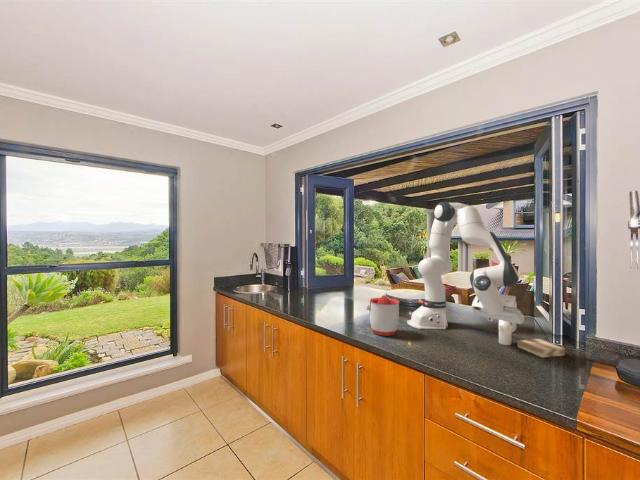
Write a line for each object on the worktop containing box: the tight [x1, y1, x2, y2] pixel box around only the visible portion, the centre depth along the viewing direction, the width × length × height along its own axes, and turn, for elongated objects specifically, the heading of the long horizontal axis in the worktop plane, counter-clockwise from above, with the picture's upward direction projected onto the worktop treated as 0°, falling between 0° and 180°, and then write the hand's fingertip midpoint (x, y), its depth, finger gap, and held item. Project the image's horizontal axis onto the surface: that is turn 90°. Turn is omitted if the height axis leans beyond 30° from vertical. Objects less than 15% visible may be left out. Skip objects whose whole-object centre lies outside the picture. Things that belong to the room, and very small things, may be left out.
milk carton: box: [497, 293, 518, 333], centre depth 159 cm, size 7×7×19 cm
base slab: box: [517, 338, 566, 359], centre depth 130 cm, size 12×12×3 cm
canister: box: [498, 320, 513, 346], centre depth 139 cm, size 6×6×13 cm
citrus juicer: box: [365, 294, 400, 337], centre depth 153 cm, size 16×17×20 cm
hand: (501, 322), depth 136 cm, fingers open, 8 cm apart
